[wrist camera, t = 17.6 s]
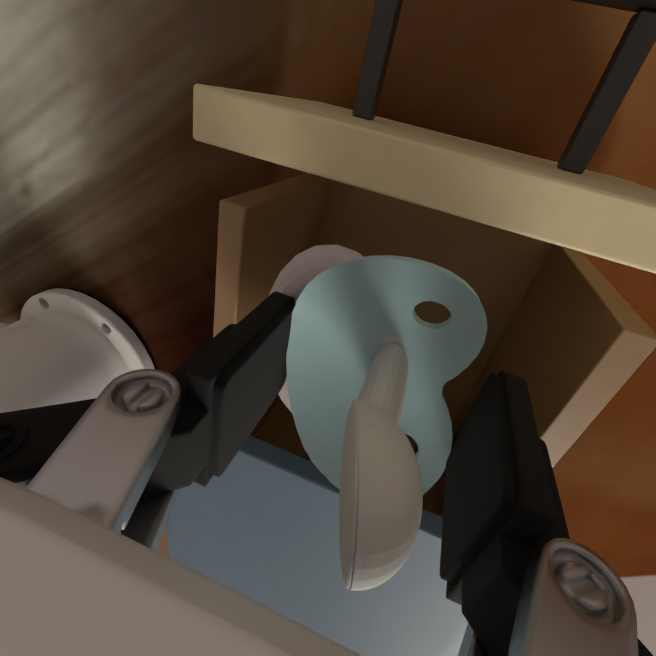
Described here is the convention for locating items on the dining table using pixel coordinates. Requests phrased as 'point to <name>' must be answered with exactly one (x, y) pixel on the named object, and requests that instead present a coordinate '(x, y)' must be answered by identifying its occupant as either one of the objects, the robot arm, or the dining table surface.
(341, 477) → the pacifier
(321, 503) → the cabinet
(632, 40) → the drawer
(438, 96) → the dining table surface
